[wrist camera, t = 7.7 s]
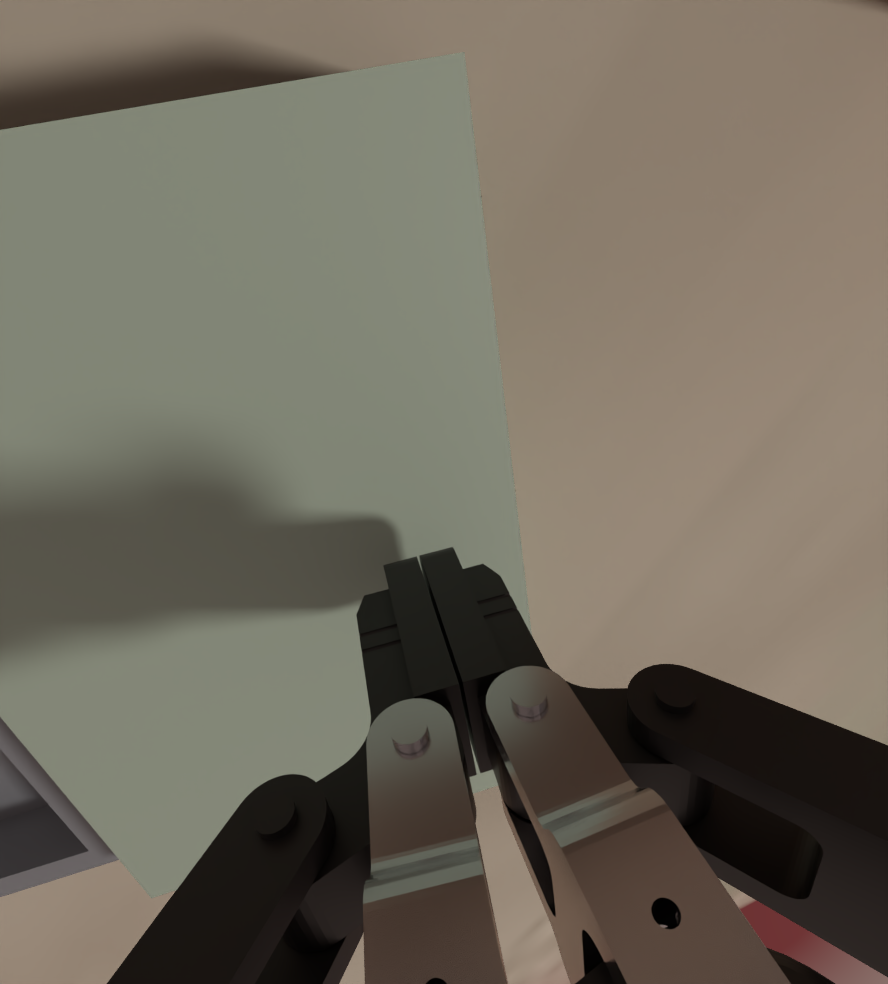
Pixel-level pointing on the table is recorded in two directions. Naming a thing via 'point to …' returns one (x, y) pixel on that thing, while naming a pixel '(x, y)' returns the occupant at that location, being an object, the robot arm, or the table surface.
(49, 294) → the plate
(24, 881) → the tray
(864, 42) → the table surface
